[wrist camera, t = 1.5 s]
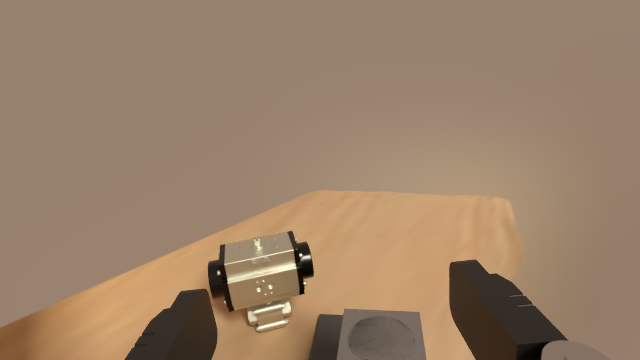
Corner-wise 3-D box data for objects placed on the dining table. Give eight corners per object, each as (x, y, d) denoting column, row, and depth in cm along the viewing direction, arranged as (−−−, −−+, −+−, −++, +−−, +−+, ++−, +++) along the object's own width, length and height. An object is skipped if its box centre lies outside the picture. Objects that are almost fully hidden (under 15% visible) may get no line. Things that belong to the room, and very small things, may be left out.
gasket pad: (307, 372, 35) (306, 368, 35) (320, 317, 42) (320, 314, 42) (385, 378, 33) (384, 374, 33) (384, 320, 41) (384, 317, 41)
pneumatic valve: (224, 320, 44) (205, 239, 40) (312, 299, 46) (302, 220, 42) (223, 353, 39) (201, 263, 35) (321, 327, 41) (311, 240, 37)
